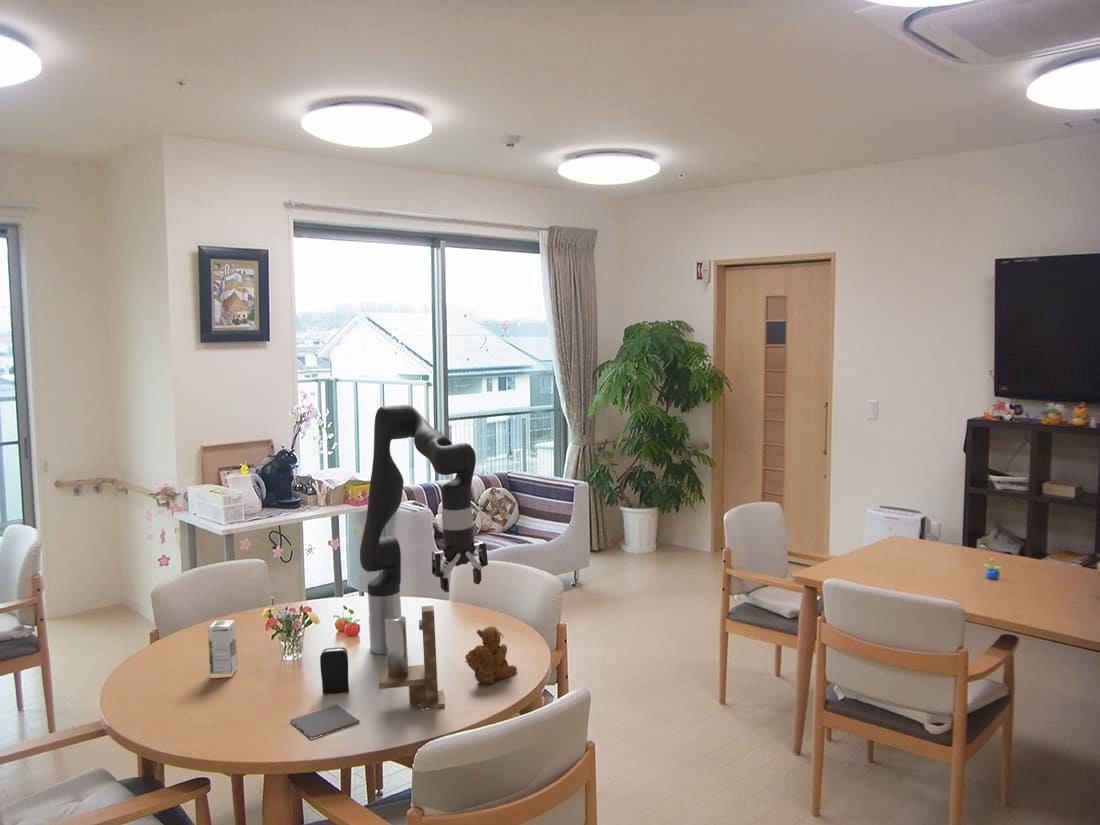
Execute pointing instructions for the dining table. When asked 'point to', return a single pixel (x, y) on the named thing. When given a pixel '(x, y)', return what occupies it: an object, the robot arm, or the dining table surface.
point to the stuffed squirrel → (490, 658)
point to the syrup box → (222, 647)
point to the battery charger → (334, 670)
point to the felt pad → (325, 721)
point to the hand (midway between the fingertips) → (461, 587)
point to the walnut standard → (420, 669)
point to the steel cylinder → (396, 646)
